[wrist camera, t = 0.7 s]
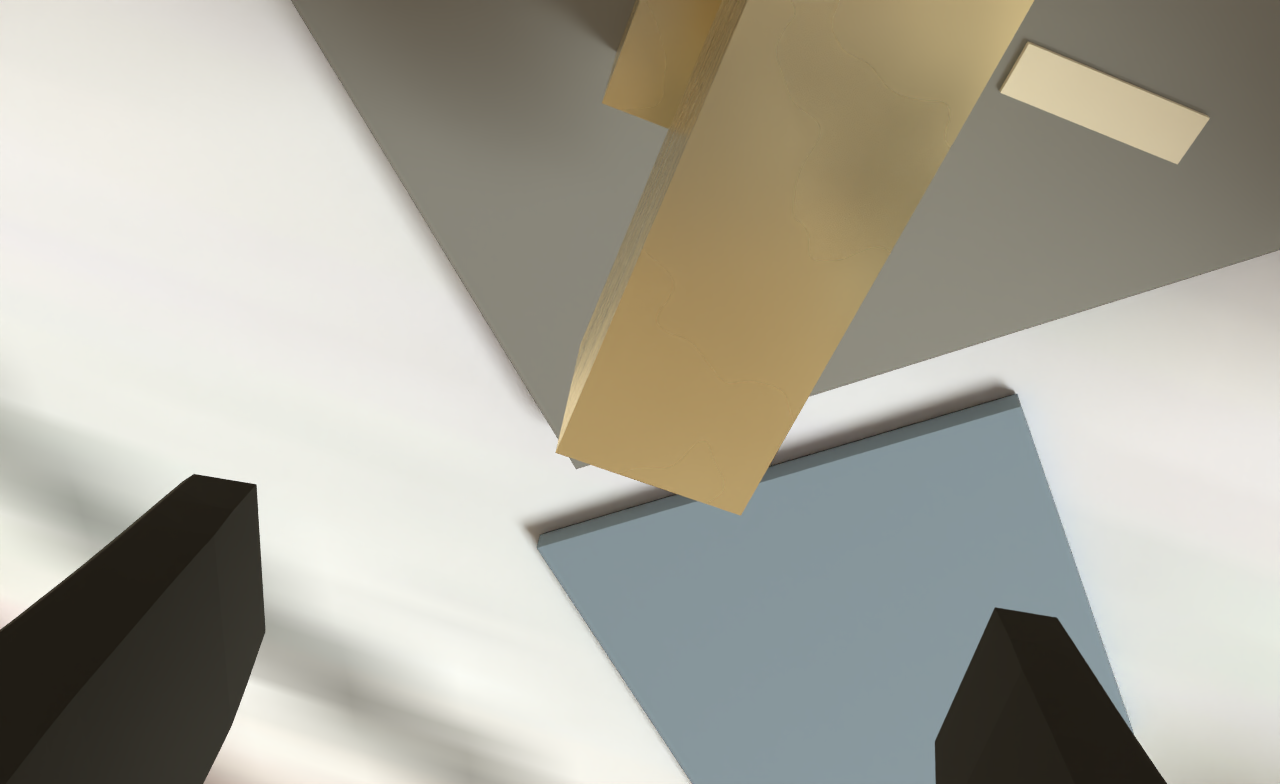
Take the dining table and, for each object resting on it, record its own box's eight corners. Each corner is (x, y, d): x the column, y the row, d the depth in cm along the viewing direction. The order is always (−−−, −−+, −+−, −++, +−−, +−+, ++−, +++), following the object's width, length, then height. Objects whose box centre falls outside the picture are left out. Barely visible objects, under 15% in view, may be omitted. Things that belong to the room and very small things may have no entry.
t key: (798, -443, 14) (816, -429, 9) (1094, -305, 15) (1269, -221, 10) (564, 192, 20) (491, 430, 14) (792, 276, 20) (801, 535, 15)
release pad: (1017, 393, 22) (1020, 406, 22) (1132, 730, 27) (1137, 745, 27) (539, 535, 25) (536, 548, 25) (722, 814, 30) (722, 828, 30)
